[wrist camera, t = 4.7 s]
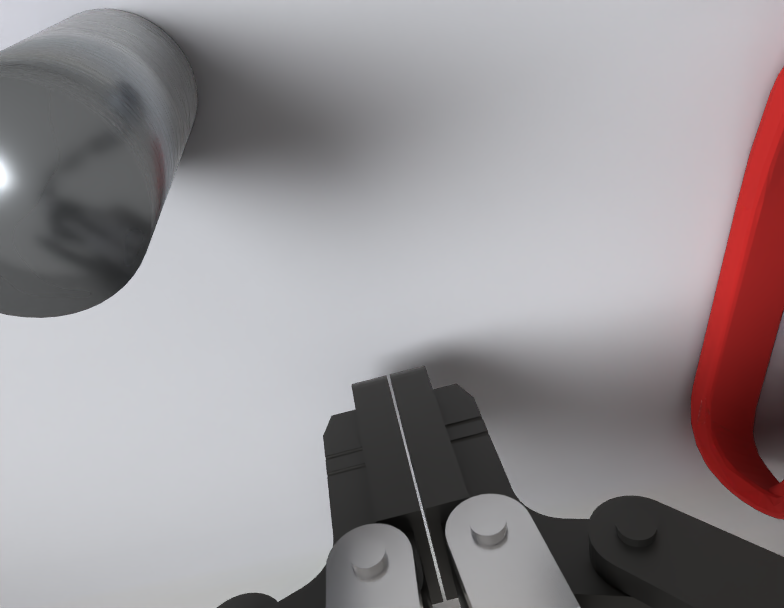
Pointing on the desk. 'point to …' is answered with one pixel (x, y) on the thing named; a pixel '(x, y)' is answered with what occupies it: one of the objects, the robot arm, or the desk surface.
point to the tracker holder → (746, 323)
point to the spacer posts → (86, 156)
